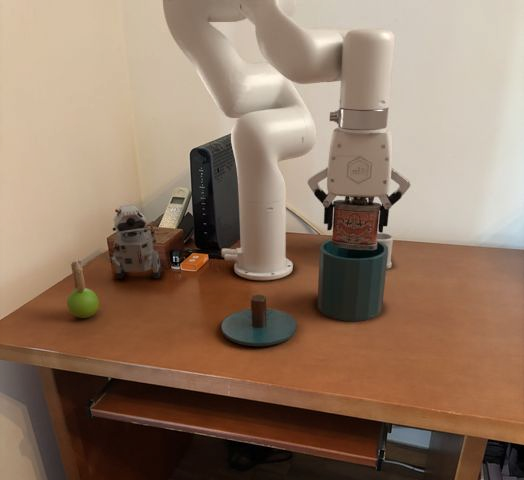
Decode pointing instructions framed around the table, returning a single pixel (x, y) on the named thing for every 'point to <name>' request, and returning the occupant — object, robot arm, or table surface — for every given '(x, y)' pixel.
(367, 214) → the lighter
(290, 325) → the tin lid
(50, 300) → the table surface
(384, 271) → the tin
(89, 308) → the green ball with peg
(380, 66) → the robot arm
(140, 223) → the figurine
